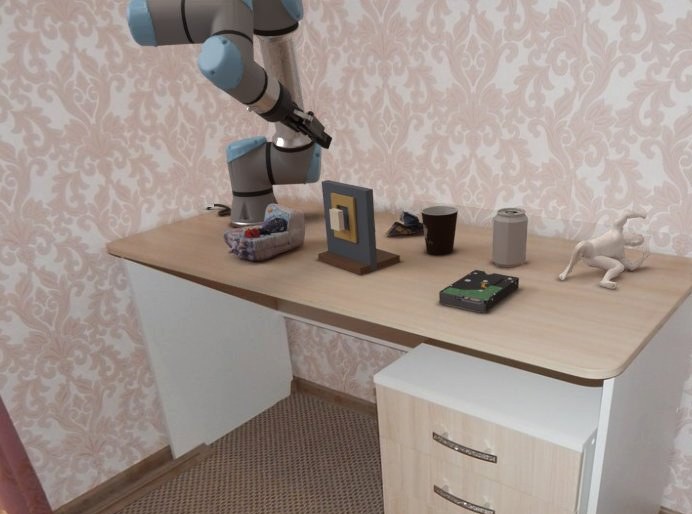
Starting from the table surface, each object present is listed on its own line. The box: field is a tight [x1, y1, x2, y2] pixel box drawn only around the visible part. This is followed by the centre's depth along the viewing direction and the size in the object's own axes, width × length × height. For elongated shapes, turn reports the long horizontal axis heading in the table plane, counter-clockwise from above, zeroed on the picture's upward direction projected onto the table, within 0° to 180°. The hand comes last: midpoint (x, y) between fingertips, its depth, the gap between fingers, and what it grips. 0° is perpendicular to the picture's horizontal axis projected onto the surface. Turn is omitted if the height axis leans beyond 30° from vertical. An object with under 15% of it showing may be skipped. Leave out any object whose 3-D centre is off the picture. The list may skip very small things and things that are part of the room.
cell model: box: [222, 203, 306, 262], centre depth 155 cm, size 13×11×20 cm
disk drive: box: [438, 269, 520, 313], centre depth 124 cm, size 10×3×15 cm
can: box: [491, 207, 529, 268], centre depth 139 cm, size 8×8×12 cm
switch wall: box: [317, 179, 401, 276], centre depth 144 cm, size 12×16×18 cm
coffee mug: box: [420, 205, 459, 257], centre depth 150 cm, size 12×9×10 cm
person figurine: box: [559, 210, 652, 290], centre depth 131 cm, size 13×13×18 cm
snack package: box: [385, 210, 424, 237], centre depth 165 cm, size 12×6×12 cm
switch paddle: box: [329, 208, 344, 231], centre depth 140 cm, size 1×3×4 cm, turn 42°
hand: (327, 143), depth 142 cm, fingers closed
